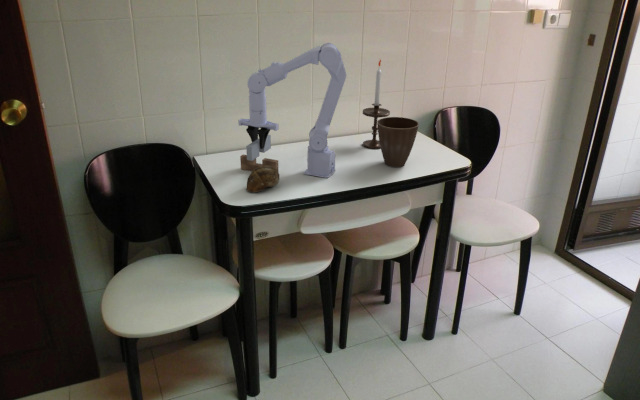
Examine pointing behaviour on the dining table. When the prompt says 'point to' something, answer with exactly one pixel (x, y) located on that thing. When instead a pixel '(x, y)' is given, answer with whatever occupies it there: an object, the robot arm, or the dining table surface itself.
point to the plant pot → (396, 139)
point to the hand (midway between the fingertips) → (259, 147)
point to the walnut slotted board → (253, 165)
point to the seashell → (262, 178)
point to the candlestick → (375, 114)
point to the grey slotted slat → (257, 148)
